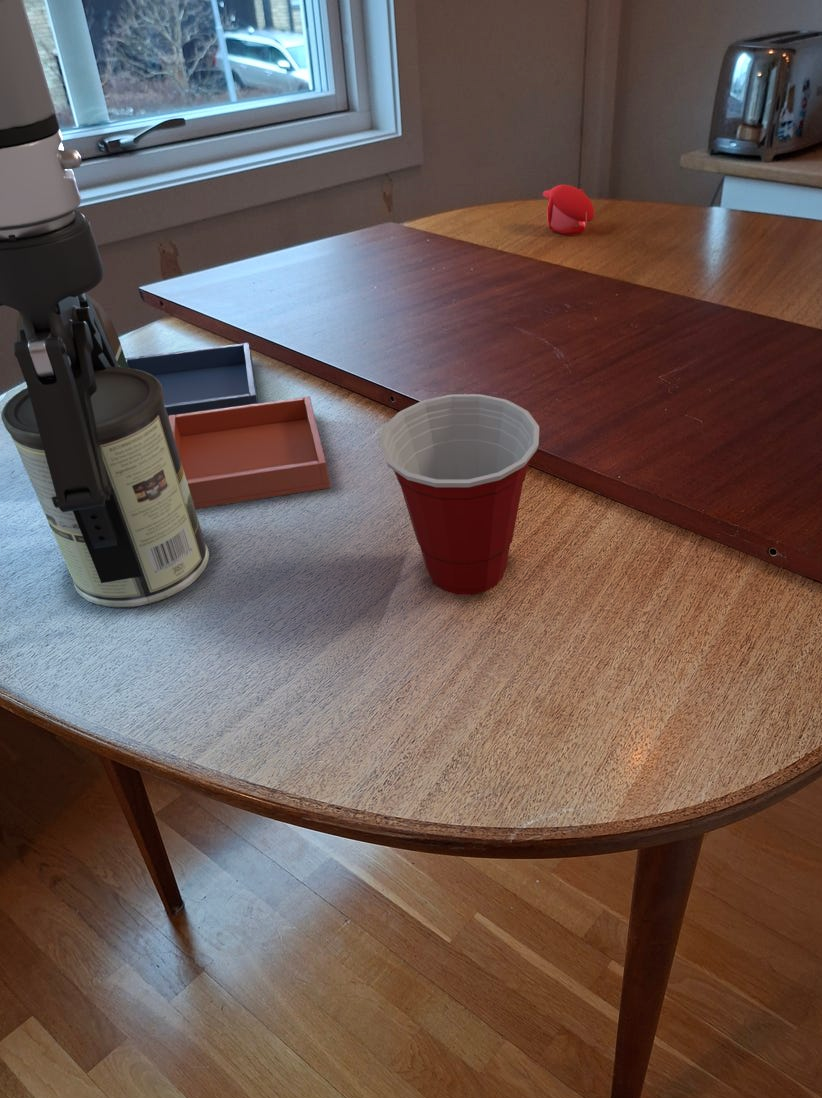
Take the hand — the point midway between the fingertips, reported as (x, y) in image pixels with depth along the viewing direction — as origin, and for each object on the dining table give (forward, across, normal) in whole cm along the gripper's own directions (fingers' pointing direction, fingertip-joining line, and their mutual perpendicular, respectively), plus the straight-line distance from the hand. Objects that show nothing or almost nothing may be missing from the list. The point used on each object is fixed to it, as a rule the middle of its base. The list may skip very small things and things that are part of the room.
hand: (127, 524), depth 65 cm
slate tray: (+4, +29, -4) cm, 30 cm away
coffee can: (+4, 0, 0) cm, 4 cm away
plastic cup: (+4, -8, -24) cm, 26 cm away
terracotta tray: (+4, +14, -9) cm, 17 cm away
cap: (+4, +69, -58) cm, 90 cm away
